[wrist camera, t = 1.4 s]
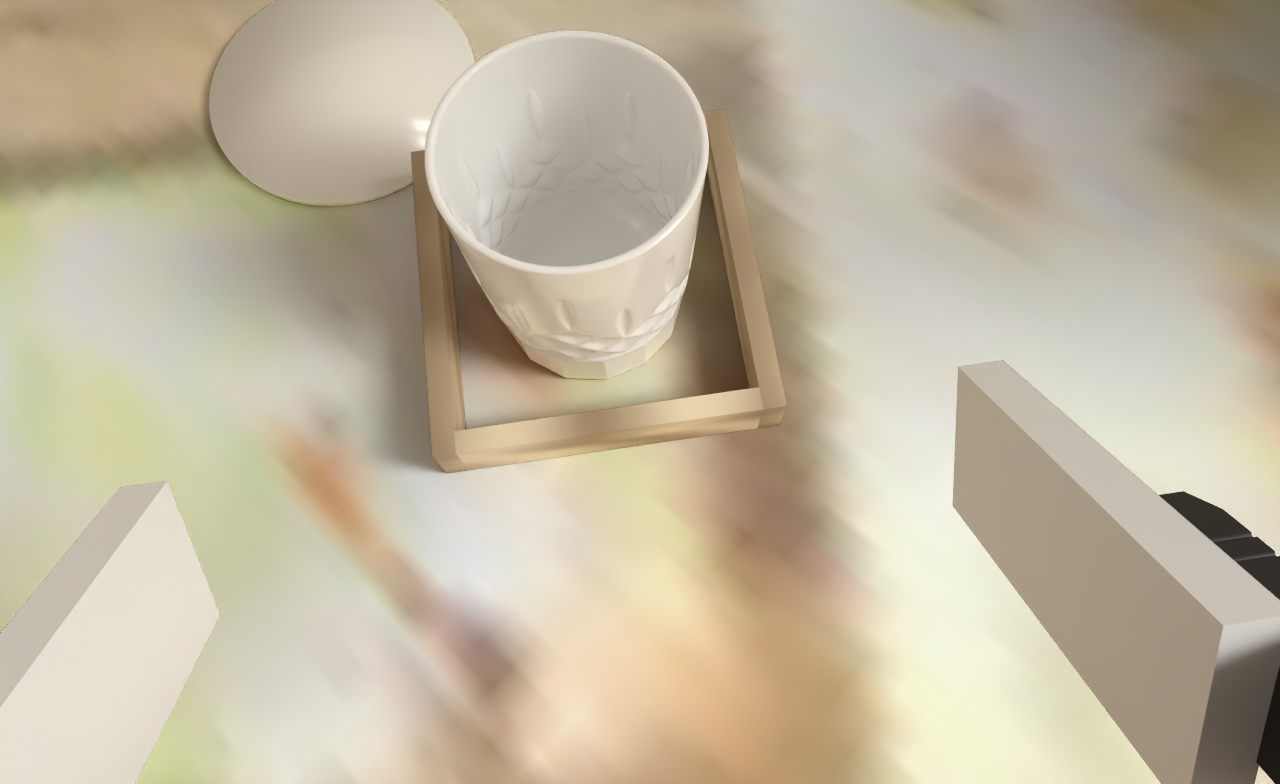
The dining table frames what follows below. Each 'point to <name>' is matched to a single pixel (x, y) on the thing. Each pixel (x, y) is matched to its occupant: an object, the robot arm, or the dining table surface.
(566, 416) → the frame
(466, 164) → the white cup
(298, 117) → the coaster
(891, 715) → the dining table surface
